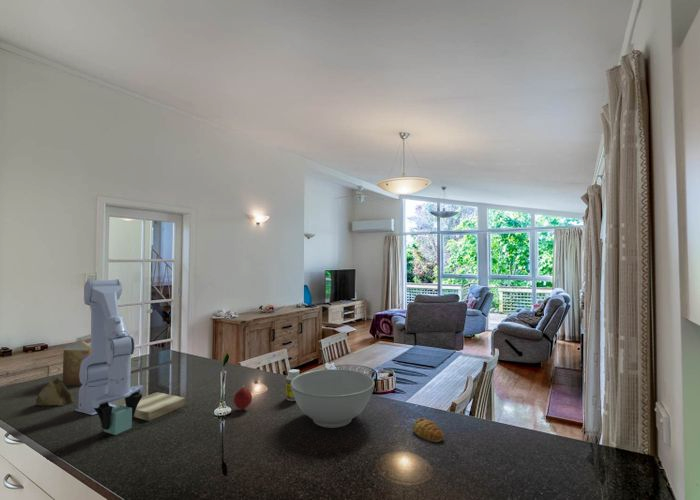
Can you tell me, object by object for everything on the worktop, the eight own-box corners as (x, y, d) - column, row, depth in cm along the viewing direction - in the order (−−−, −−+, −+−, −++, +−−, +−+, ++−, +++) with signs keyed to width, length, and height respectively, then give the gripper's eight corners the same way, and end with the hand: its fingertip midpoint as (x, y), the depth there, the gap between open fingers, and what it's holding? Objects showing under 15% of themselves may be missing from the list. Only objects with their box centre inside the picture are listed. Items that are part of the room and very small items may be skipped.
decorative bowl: (391, 418, 118) (391, 380, 119) (331, 449, 99) (331, 403, 99) (333, 397, 136) (333, 364, 137) (272, 419, 117) (273, 381, 117)
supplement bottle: (283, 400, 133) (283, 372, 133) (289, 395, 139) (289, 368, 139) (298, 402, 132) (298, 373, 132) (303, 396, 137) (303, 369, 138)
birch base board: (119, 413, 121) (120, 405, 122) (157, 399, 134) (157, 392, 134) (149, 420, 116) (149, 412, 116) (185, 405, 129) (185, 397, 129)
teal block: (104, 431, 108) (104, 411, 109) (120, 425, 113) (121, 405, 113) (115, 435, 106) (115, 414, 107) (131, 428, 111) (132, 407, 111)
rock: (24, 400, 126) (37, 401, 122) (41, 376, 131) (55, 376, 127) (54, 411, 133) (68, 413, 128) (70, 387, 138) (84, 388, 134)
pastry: (449, 440, 105) (449, 426, 105) (432, 446, 101) (432, 432, 101) (426, 427, 112) (426, 414, 113) (409, 433, 109) (409, 420, 109)
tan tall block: (88, 385, 149) (89, 338, 150) (62, 384, 149) (63, 337, 150) (105, 377, 160) (106, 333, 161) (81, 376, 160) (83, 332, 161)
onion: (246, 414, 121) (246, 389, 121) (230, 412, 122) (230, 388, 123) (254, 407, 127) (254, 384, 127) (239, 406, 128) (239, 382, 128)
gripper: (103, 387, 102) (101, 436, 101) (150, 372, 115) (149, 416, 115) (87, 383, 105) (86, 431, 104) (135, 370, 118) (134, 412, 118)
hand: (118, 423), depth 110 cm, fingers open, 7 cm apart
